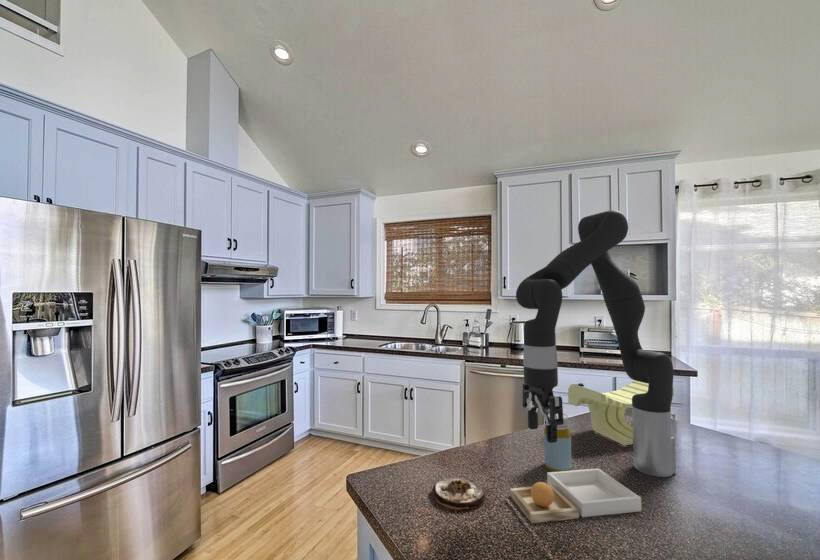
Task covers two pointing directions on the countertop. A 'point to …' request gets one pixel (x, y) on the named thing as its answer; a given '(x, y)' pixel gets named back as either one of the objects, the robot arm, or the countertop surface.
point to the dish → (594, 492)
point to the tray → (536, 513)
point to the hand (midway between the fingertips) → (541, 434)
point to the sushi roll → (458, 494)
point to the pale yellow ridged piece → (609, 409)
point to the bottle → (559, 448)
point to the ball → (542, 494)
